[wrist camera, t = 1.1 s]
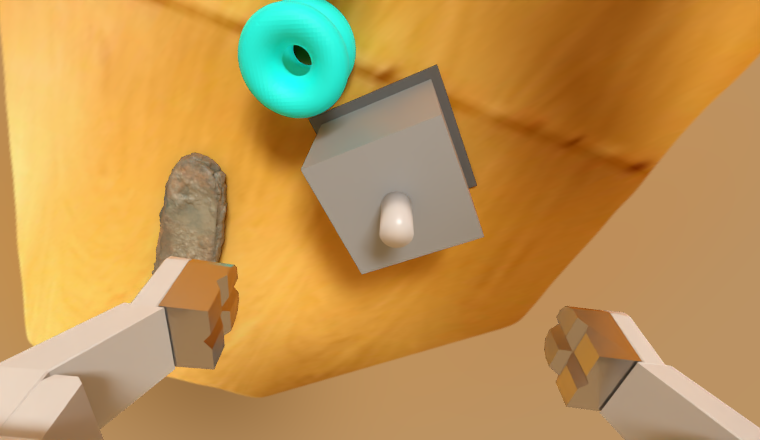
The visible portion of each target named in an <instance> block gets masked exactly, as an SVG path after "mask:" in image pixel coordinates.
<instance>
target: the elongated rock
mask: <svg viewBox="0 0 760 440" xmlns="http://www.w3.org/2000/svg"><path fill="white" fill-rule="evenodd" d="M225 176H226V174H225V173H224V172H222V171H221V169H220V167H219V165H218V164H217V163H215V162H214V160H212V159H210V158H209V157H207V156H204V155H202V154H198V153H192V154H191V155H186V156H184V157H182V158H181V159H180V160H179V162H178V163H177V164H176V166H175V167H174V169H172V173H171V175H170V176H169V180H168V182H167V183H166V186H165V188H166V189H165V197H164V206H163V208H162V210H161V212H160V215H159V216H160V223H161V224H160V227H161V228H160V233H159V239H158V245H157V248H156V253H157V254H156V263H154V265H155V267H154V270H153V271H152V275H153V274H154V273H155V272H156V270H157V269H158V268H159V267H160V265H161V264H162V263H163V261H164V260H165V259H166V258H168V257H170V256H174V257H181V258H188V259H197V260H204V261H211V262H218V261H219V258H220V255H221V251H222V250H221V247H222V244H223V243H224V229H225V223H224V219H225V215H226V207H227V203H226V187H227V185H226V184H225V182H224V181H225Z"/></svg>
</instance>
